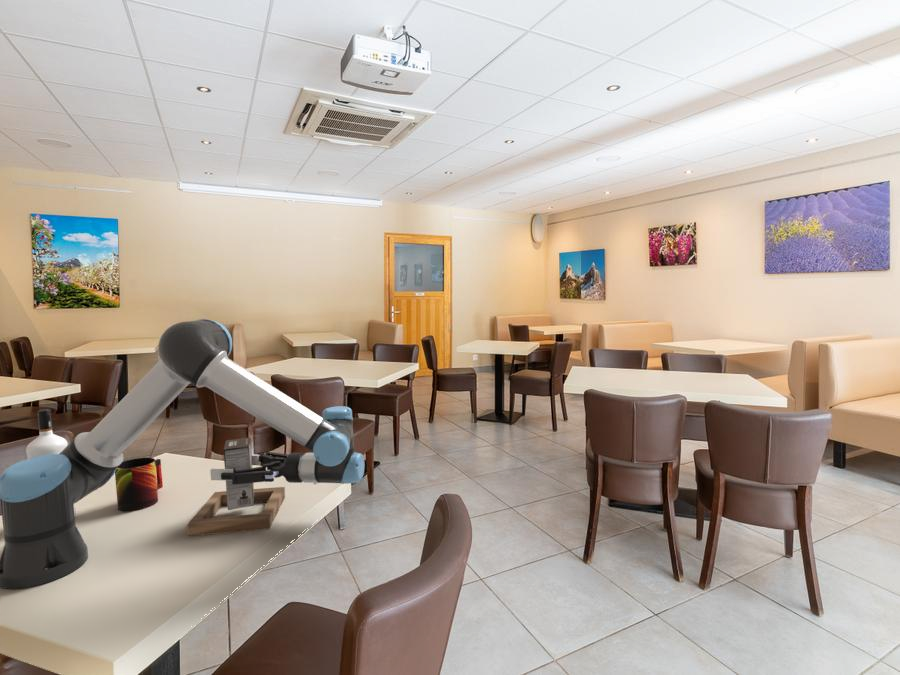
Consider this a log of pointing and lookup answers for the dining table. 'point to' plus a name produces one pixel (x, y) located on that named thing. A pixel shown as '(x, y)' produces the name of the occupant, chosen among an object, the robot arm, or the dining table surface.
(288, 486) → the dining table surface
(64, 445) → the vodka
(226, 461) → the coffee box
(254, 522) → the block
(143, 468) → the mug
